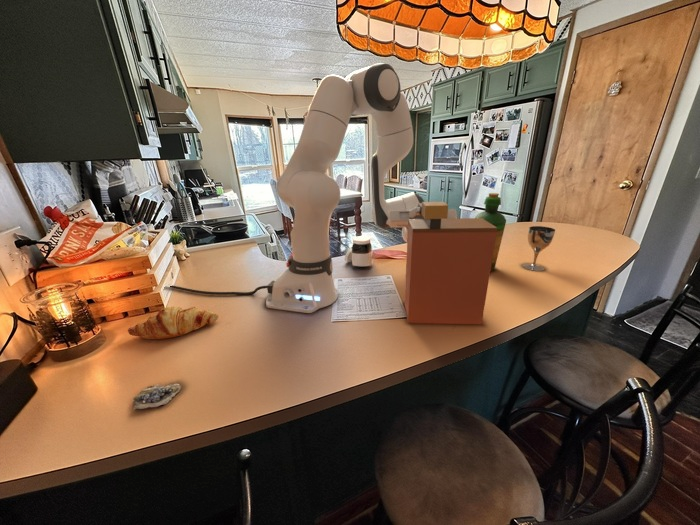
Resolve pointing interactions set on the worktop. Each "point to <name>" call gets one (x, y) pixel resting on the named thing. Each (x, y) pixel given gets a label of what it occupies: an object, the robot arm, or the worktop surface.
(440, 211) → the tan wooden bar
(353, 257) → the spread jar
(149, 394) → the crystal geode
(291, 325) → the worktop surface
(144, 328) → the croissant
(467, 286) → the stand
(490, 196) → the bottle
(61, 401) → the worktop surface
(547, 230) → the silver goblet
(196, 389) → the worktop surface
